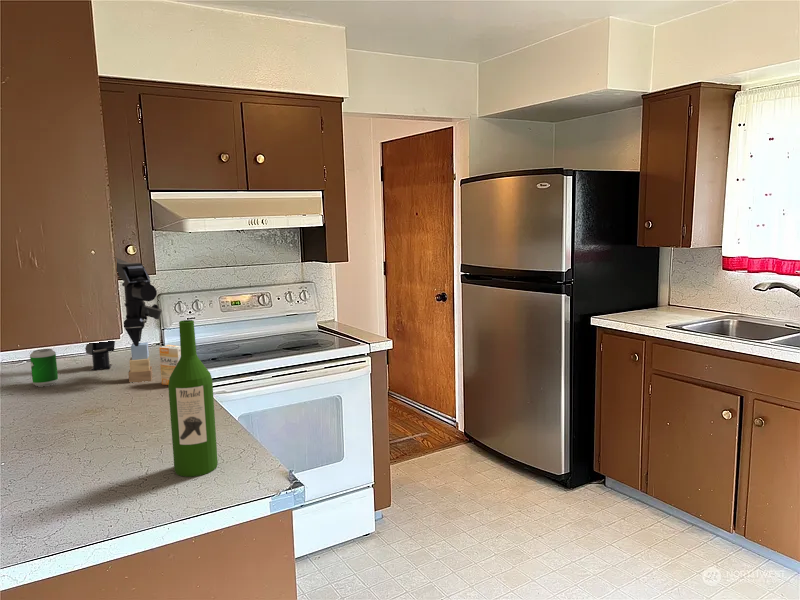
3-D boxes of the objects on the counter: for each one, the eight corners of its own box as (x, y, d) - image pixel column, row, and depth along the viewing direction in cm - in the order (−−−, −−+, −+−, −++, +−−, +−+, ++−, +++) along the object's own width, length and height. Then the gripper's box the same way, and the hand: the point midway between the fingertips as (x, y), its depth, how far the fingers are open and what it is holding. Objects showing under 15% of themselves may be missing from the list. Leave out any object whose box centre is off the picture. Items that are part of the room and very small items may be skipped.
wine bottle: (175, 480, 121) (164, 326, 117) (173, 464, 130) (163, 320, 126) (220, 472, 125) (210, 322, 121) (215, 457, 133) (206, 316, 129)
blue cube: (133, 357, 206) (132, 343, 206) (148, 356, 208) (147, 342, 207) (132, 360, 202) (130, 346, 201) (147, 358, 203) (146, 344, 203)
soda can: (63, 381, 205) (60, 348, 204) (48, 387, 198) (45, 352, 196) (43, 381, 206) (40, 348, 204) (27, 387, 198) (24, 352, 197)
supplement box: (160, 385, 198) (158, 347, 196) (171, 381, 202) (168, 344, 201) (179, 387, 195) (177, 348, 193) (190, 383, 199) (187, 345, 198)
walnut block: (131, 379, 208) (130, 368, 207) (152, 377, 210) (151, 366, 209) (129, 384, 201) (128, 372, 201) (151, 381, 203) (150, 370, 203)
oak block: (131, 368, 207) (130, 357, 206) (149, 366, 209) (149, 355, 208) (130, 372, 201) (129, 361, 201) (149, 370, 203) (148, 359, 203)
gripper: (158, 301, 196) (161, 346, 198) (160, 295, 214) (163, 337, 216) (121, 303, 193) (125, 349, 195) (127, 297, 210) (130, 339, 212)
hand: (137, 343), depth 204 cm, fingers open, 9 cm apart
